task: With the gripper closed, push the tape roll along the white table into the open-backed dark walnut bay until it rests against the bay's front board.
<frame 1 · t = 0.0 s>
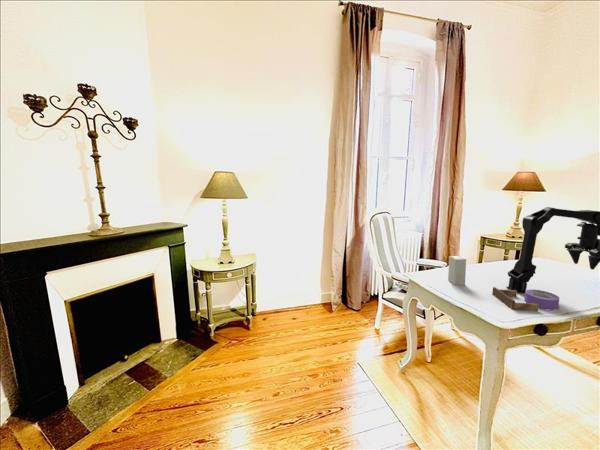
hand: (583, 266, 131), 15 cm above the table, fingers open, 9 cm apart
walnut bay: (514, 302, 124), on the table
tape roll: (540, 304, 123), on the table
skincare box: (455, 282, 150), on the table
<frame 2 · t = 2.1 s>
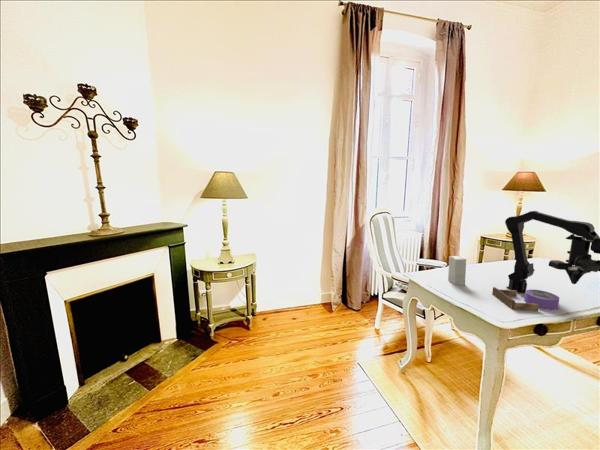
hand: (573, 283, 119), 11 cm above the table, fingers closed
nothing on the table moved.
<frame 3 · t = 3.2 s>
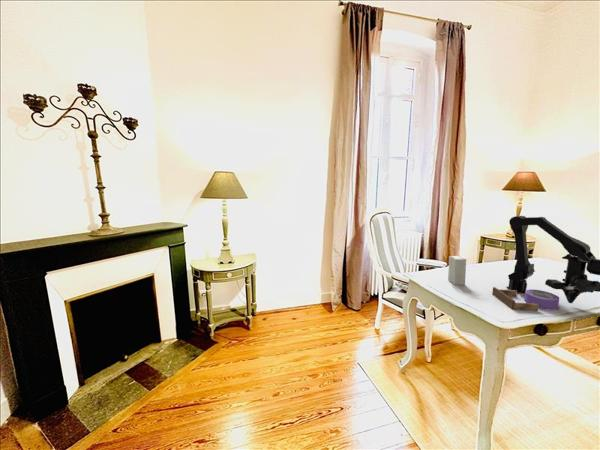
hand: (570, 302, 120), 1 cm above the table, fingers closed
nothing on the table moved.
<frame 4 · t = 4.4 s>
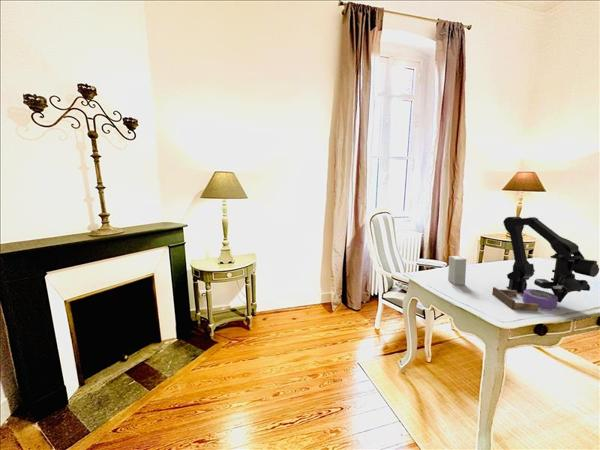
hand: (558, 302, 121), 2 cm above the table, fingers closed
tape roll: (538, 304, 123), on the table, touching gripper
everything else where it was.
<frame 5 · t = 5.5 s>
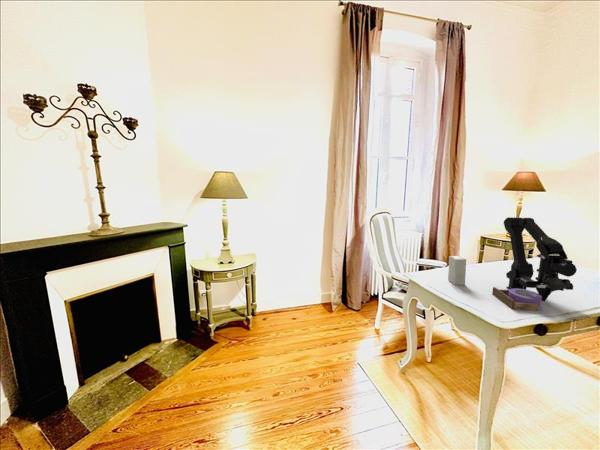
hand: (542, 301, 122), 2 cm above the table, fingers closed
tape roll: (523, 303, 124), on the table, touching gripper
everything else where it was.
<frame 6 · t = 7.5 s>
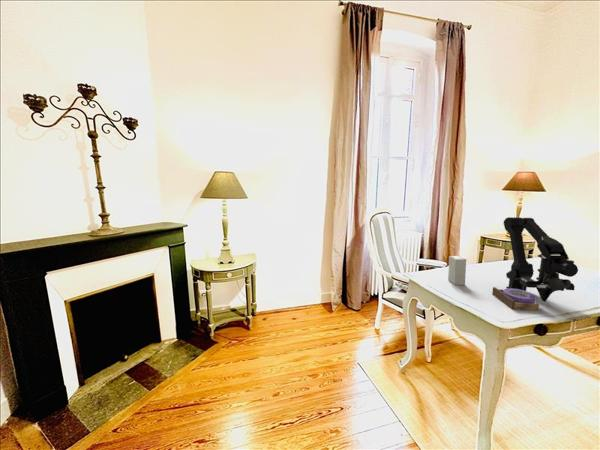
hand: (543, 301, 122), 2 cm above the table, fingers closed
tape roll: (517, 303, 124), on the table
everything else where it was.
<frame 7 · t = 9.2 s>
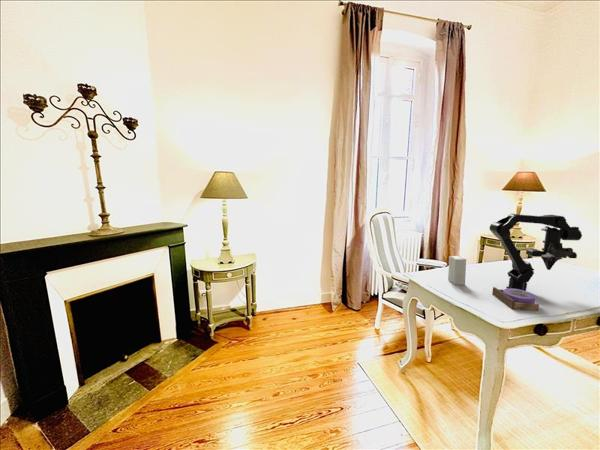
hand: (548, 269, 134), 12 cm above the table, fingers closed
nothing on the table moved.
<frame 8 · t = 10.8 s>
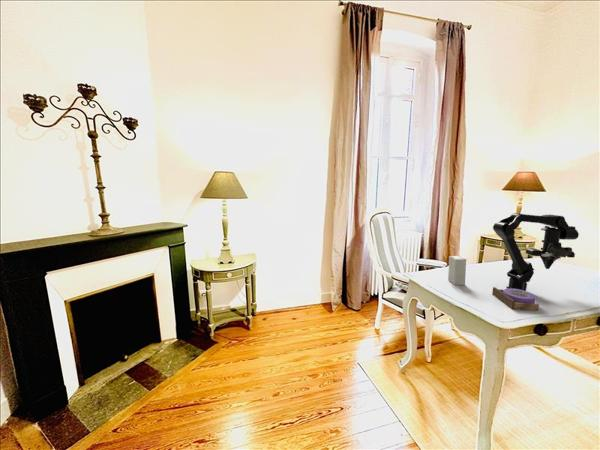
hand: (547, 268, 136), 12 cm above the table, fingers closed
nothing on the table moved.
at the end: tape roll 0.3 cm from the target spot, on the table; tape roll tilted 0° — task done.
